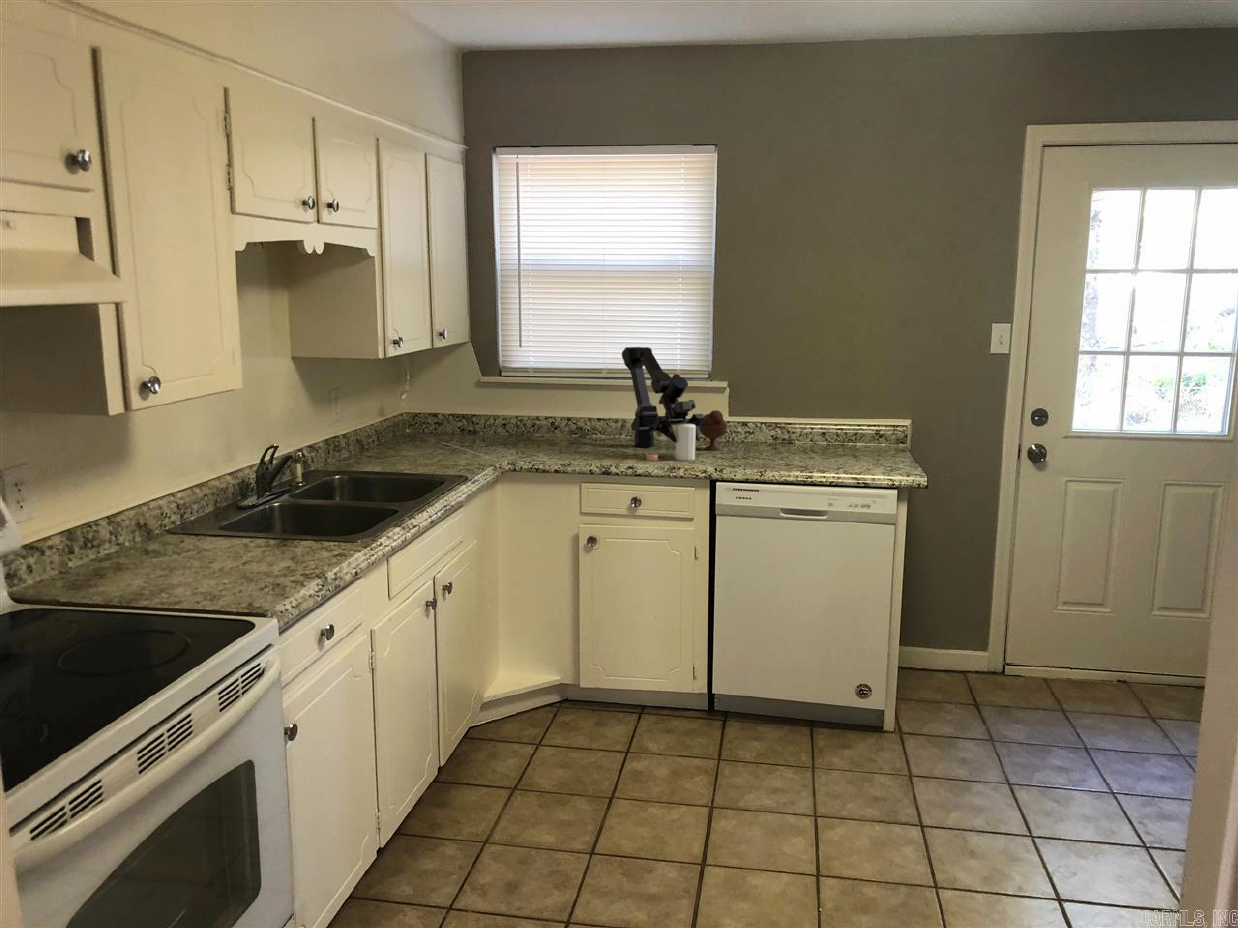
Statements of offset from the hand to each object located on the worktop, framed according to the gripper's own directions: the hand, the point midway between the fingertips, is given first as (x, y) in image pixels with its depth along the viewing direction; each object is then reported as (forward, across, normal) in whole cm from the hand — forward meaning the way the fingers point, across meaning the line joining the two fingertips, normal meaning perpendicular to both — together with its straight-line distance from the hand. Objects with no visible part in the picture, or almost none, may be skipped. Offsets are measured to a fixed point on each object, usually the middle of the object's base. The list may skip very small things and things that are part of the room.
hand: (687, 441), depth 329 cm
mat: (+3, 0, +6) cm, 7 cm away
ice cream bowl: (-6, +20, +16) cm, 27 cm away
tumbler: (+4, 0, +5) cm, 6 cm away
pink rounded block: (+3, -12, +7) cm, 14 cm away
